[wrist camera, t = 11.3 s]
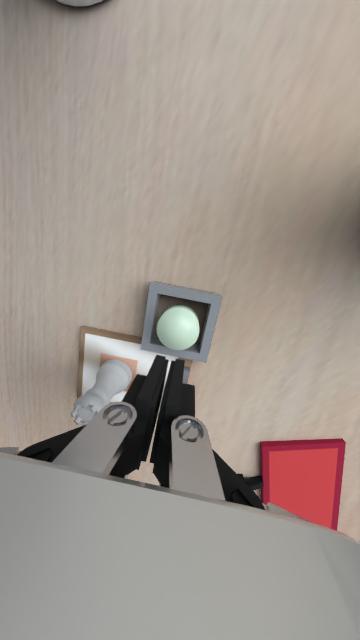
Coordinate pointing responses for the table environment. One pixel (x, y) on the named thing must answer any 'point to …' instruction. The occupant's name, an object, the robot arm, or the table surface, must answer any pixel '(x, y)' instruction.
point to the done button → (178, 327)
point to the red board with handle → (302, 478)
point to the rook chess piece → (102, 390)
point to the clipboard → (120, 347)
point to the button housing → (159, 288)
